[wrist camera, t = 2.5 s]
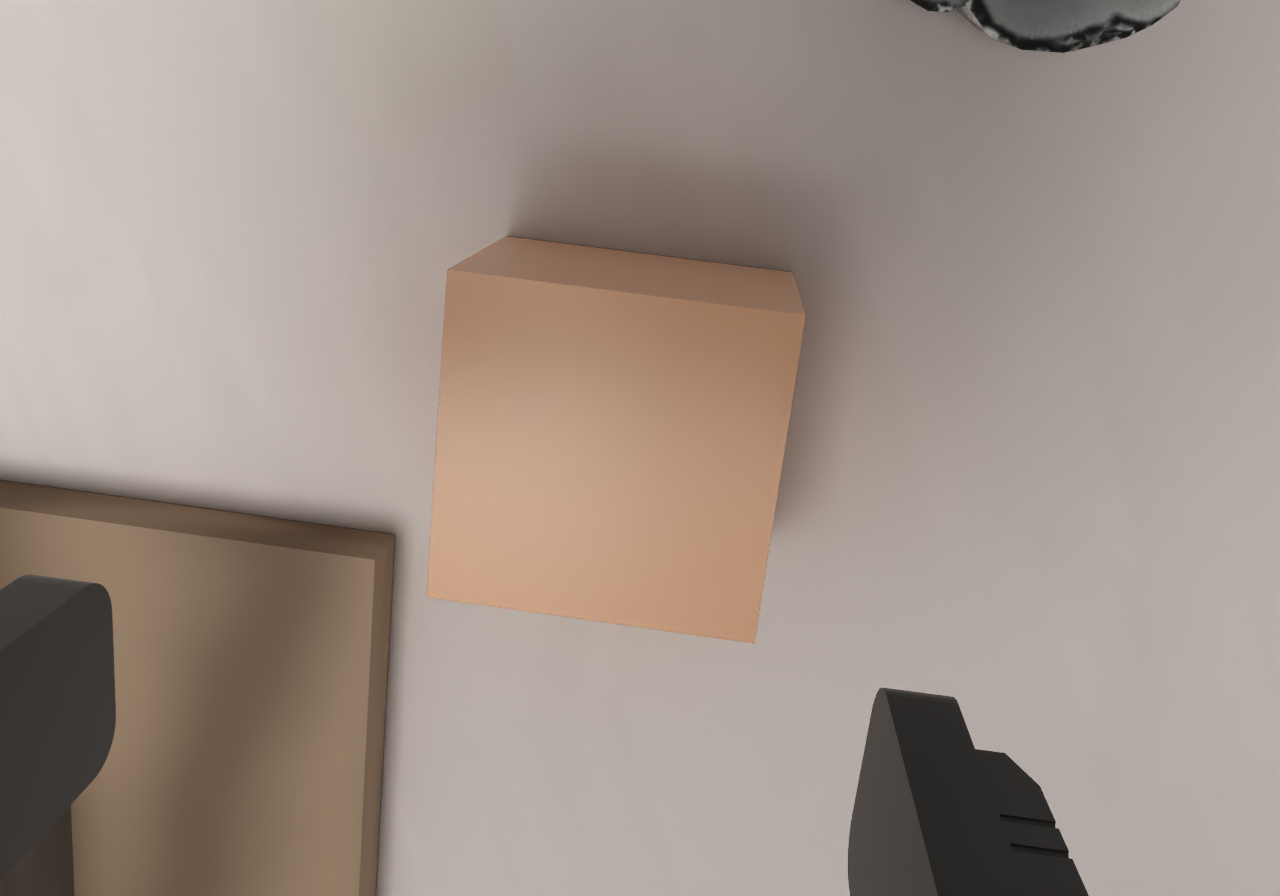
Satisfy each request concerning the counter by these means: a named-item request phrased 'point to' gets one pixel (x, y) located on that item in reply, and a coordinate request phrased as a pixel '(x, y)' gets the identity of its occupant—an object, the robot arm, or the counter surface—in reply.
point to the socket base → (218, 699)
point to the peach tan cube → (612, 435)
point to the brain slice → (1056, 20)
